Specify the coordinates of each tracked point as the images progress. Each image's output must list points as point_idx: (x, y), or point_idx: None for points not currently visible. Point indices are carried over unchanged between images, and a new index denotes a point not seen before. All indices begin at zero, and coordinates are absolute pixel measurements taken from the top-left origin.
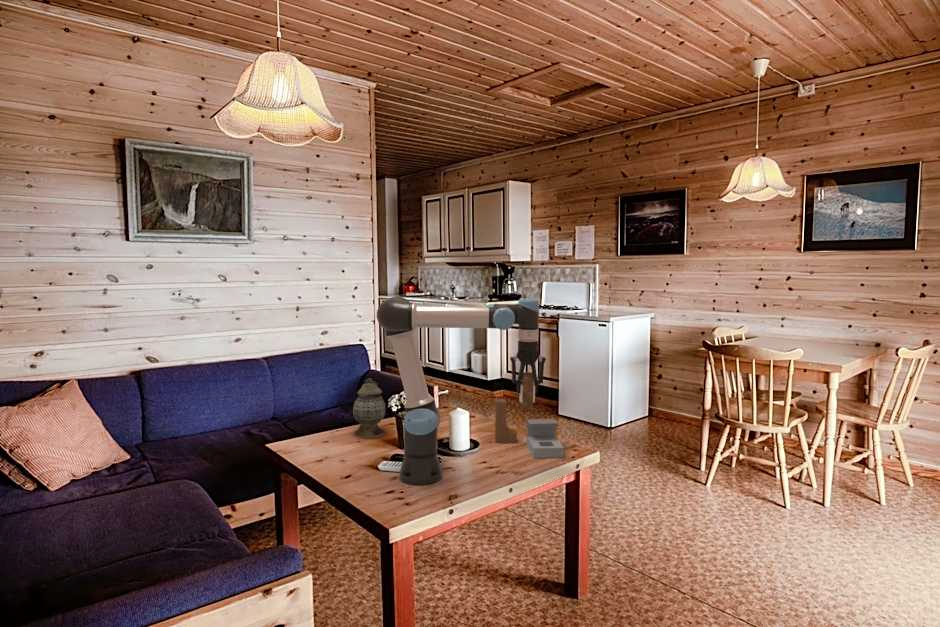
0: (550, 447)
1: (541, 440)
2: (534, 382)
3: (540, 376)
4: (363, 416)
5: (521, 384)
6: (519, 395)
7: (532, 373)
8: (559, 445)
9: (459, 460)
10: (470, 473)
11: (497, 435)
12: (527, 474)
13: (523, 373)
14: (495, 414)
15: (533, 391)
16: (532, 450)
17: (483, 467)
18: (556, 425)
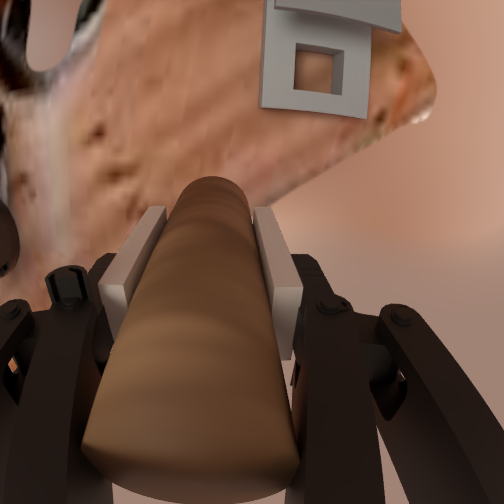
0: (323, 106)
1: (312, 31)
2: (301, 349)
3: (387, 437)
4: None
5: (122, 309)
6: (138, 225)
7: (282, 486)
8: (359, 94)
9: (40, 124)
10: (67, 216)
11: None
12: None
13: (112, 476)
14: None
15: None
16: (261, 84)
17: (95, 175)
18: (389, 31)
